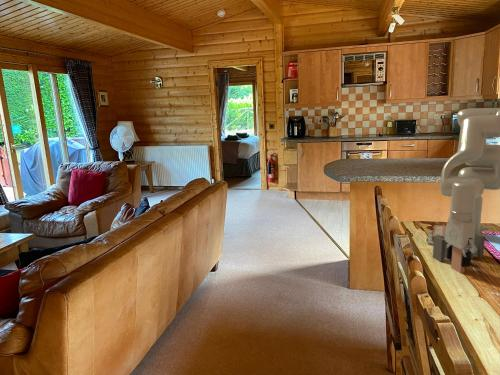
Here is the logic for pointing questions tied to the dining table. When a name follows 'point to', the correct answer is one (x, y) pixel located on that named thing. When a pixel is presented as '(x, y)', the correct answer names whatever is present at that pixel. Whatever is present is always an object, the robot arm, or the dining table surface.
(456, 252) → the domino
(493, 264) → the dining table surface
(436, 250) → the domino
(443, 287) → the dining table surface
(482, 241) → the domino
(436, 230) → the packaged product
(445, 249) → the domino
